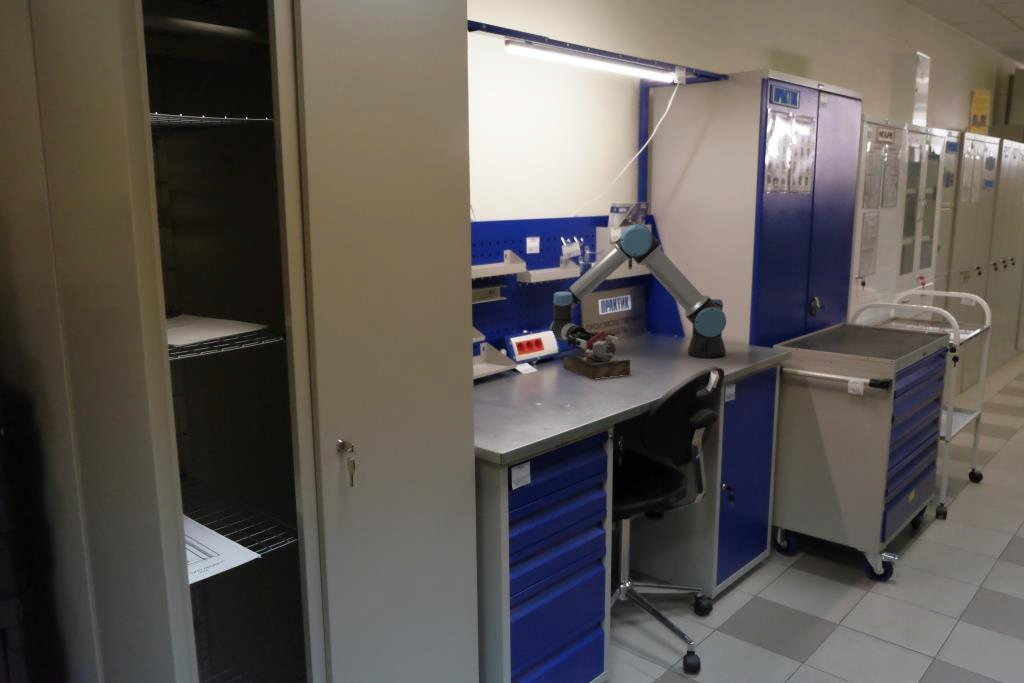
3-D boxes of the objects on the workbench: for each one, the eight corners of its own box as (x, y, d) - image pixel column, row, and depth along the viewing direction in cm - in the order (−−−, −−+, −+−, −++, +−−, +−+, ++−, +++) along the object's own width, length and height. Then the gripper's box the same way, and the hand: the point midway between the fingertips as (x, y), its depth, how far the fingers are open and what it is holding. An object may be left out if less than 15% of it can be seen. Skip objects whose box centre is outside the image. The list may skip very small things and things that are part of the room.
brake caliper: (616, 352, 283) (618, 330, 275) (612, 374, 276) (613, 352, 267) (587, 348, 286) (587, 326, 277) (581, 369, 278) (581, 347, 270)
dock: (599, 363, 294) (599, 349, 293) (629, 374, 275) (630, 360, 274) (563, 367, 288) (563, 353, 287) (591, 379, 268) (591, 364, 267)
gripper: (601, 340, 300) (630, 349, 281) (546, 346, 290) (571, 356, 271) (601, 322, 299) (630, 330, 280) (545, 327, 289) (571, 336, 270)
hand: (601, 343), depth 275 cm, fingers open, 13 cm apart
